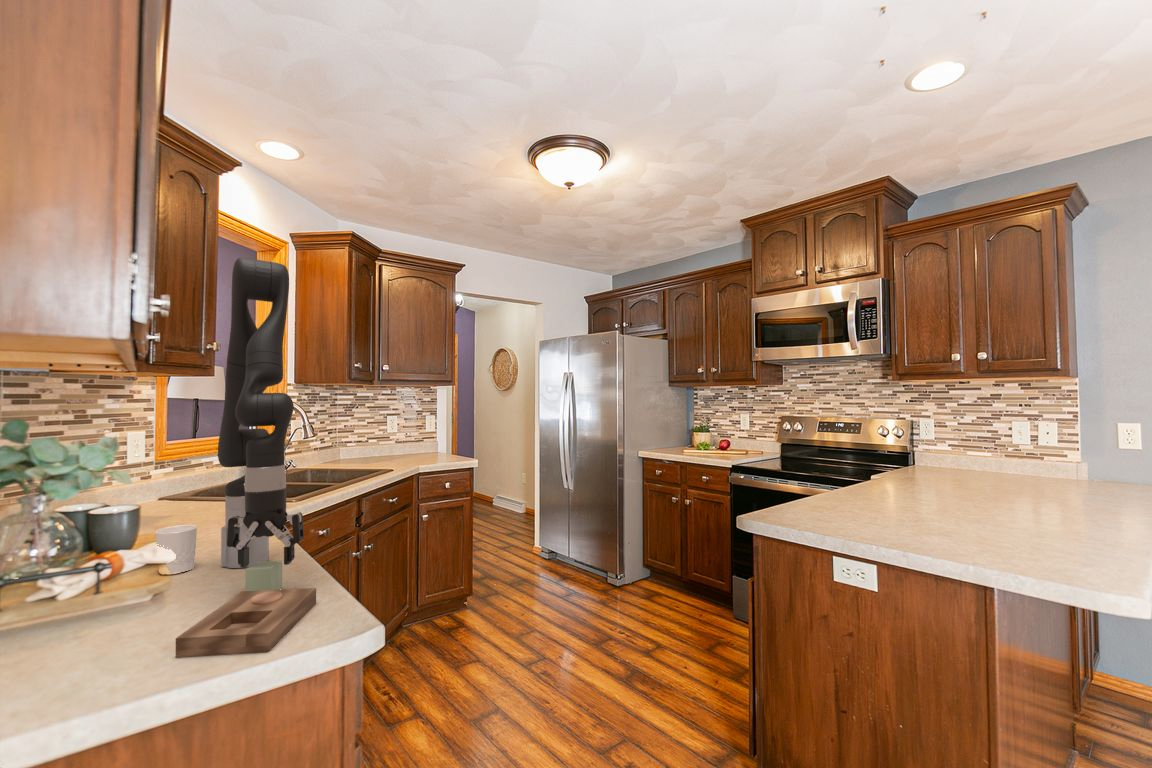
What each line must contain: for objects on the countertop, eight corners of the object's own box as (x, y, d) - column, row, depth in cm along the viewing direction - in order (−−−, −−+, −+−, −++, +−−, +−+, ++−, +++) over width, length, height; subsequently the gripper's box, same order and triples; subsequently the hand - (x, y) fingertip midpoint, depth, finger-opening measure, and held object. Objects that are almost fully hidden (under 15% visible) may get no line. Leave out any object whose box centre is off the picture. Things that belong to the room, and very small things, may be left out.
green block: (245, 598, 108) (245, 569, 108) (257, 589, 113) (257, 561, 113) (271, 597, 108) (271, 568, 108) (282, 588, 113) (282, 560, 113)
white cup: (152, 571, 125) (152, 529, 125) (192, 563, 131) (192, 523, 131) (158, 579, 120) (159, 535, 120) (200, 570, 126) (200, 528, 126)
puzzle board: (175, 657, 84) (175, 634, 84) (241, 606, 103) (241, 588, 104) (268, 651, 85) (268, 629, 85) (316, 603, 105) (316, 584, 105)
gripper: (308, 483, 116) (309, 557, 115) (239, 486, 114) (239, 561, 113) (294, 488, 108) (294, 568, 108) (219, 492, 106) (220, 573, 106)
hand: (266, 565), depth 110 cm, fingers open, 8 cm apart
